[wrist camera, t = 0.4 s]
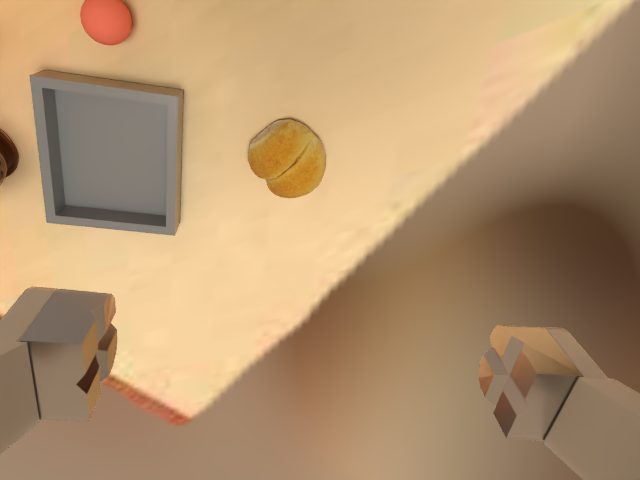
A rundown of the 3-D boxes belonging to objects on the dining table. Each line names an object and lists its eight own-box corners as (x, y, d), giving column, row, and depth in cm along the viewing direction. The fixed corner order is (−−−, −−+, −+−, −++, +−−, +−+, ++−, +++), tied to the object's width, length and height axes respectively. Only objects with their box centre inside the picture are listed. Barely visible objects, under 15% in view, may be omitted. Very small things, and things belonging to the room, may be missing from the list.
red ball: (88, -11, 46) (70, -11, 42) (136, -3, 47) (123, -2, 43) (91, 38, 48) (74, 43, 44) (137, 45, 49) (125, 51, 45)
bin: (45, 69, 49) (29, 75, 46) (183, 89, 51) (177, 96, 48) (59, 209, 57) (46, 222, 54) (180, 222, 59) (174, 235, 56)
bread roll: (287, 204, 59) (287, 218, 56) (237, 149, 55) (235, 161, 52) (340, 163, 57) (344, 175, 54) (292, 104, 53) (293, 113, 50)
